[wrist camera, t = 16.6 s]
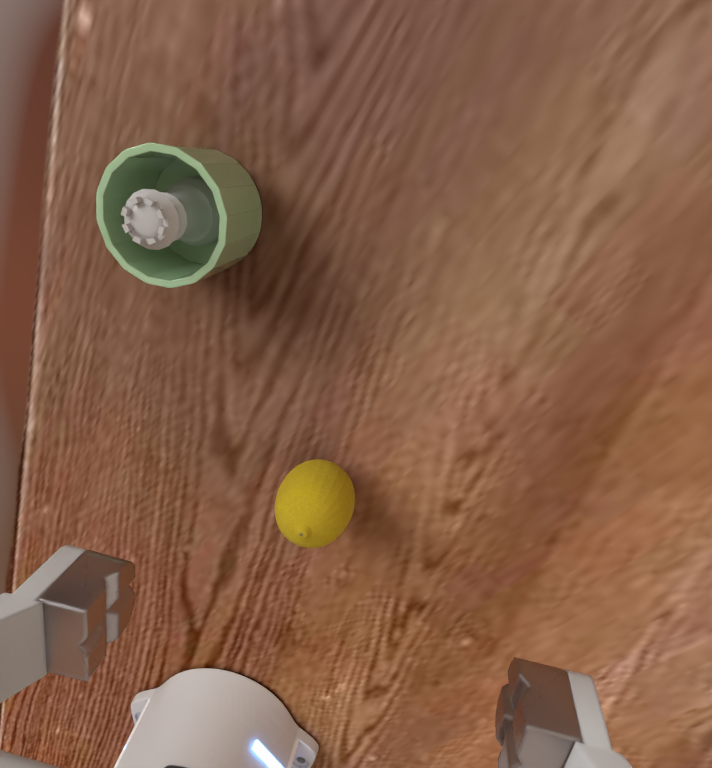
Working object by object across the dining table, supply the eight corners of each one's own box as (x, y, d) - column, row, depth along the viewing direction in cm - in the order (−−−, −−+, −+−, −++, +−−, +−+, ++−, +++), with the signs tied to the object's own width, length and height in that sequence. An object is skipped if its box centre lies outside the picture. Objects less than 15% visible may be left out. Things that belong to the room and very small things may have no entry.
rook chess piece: (180, 248, 39) (117, 267, 32) (164, 180, 38) (93, 184, 31) (241, 240, 38) (190, 258, 31) (227, 170, 37) (169, 171, 30)
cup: (256, 278, 40) (221, 298, 34) (150, 257, 41) (96, 273, 35) (267, 158, 37) (231, 156, 31) (152, 138, 38) (95, 132, 32)
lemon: (336, 429, 43) (311, 484, 36) (376, 486, 44) (360, 550, 37) (278, 461, 45) (243, 519, 37) (318, 515, 46) (292, 581, 39)
